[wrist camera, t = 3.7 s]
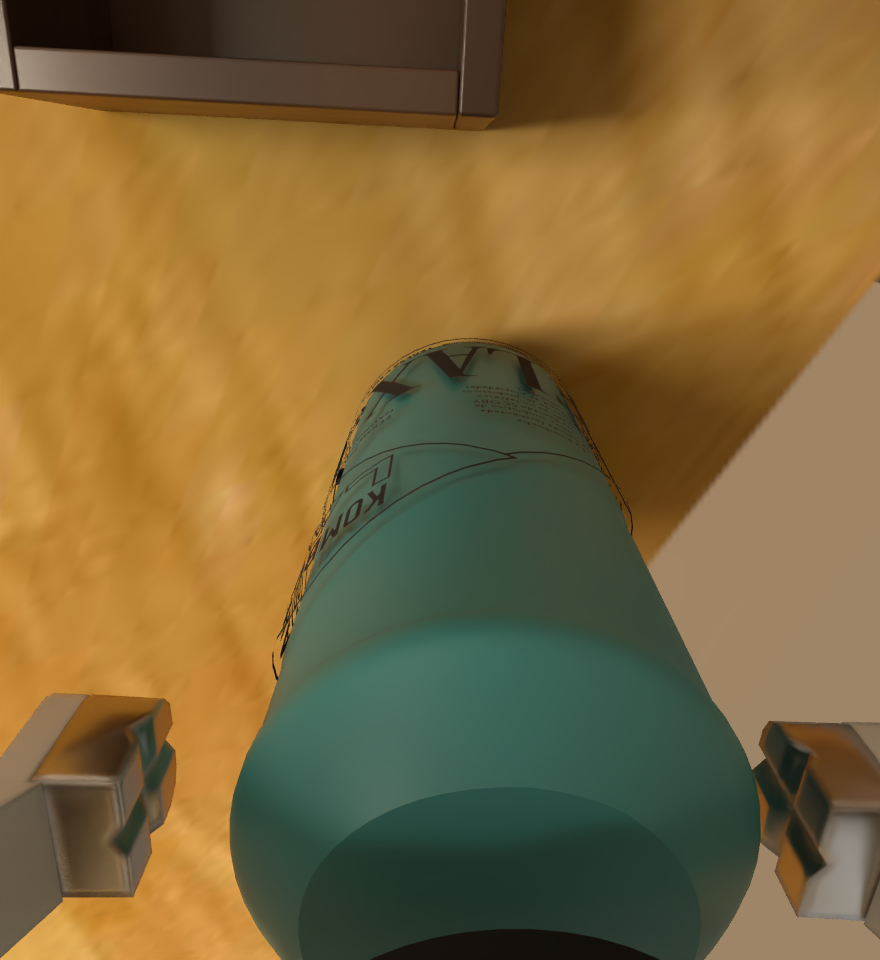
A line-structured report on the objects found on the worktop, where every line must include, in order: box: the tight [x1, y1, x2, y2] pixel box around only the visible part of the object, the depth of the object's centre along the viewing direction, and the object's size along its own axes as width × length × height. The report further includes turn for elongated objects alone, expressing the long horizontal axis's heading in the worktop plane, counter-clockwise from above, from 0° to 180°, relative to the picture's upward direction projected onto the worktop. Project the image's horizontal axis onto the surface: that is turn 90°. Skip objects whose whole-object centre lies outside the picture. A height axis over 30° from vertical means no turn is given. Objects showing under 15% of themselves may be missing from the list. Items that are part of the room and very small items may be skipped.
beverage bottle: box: [230, 338, 761, 960], centre depth 14 cm, size 6×7×20 cm
